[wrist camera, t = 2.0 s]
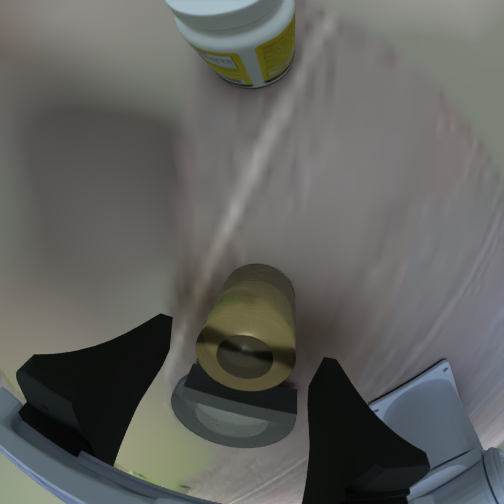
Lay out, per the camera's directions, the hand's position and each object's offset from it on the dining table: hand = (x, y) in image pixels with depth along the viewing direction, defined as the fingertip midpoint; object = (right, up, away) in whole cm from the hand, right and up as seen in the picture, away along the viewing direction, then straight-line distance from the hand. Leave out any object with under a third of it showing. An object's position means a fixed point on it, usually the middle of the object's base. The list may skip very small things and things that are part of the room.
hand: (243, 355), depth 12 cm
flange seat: (-1, -9, +10) cm, 13 cm away
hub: (+1, +2, +6) cm, 6 cm away
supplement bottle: (0, +16, +1) cm, 16 cm away
